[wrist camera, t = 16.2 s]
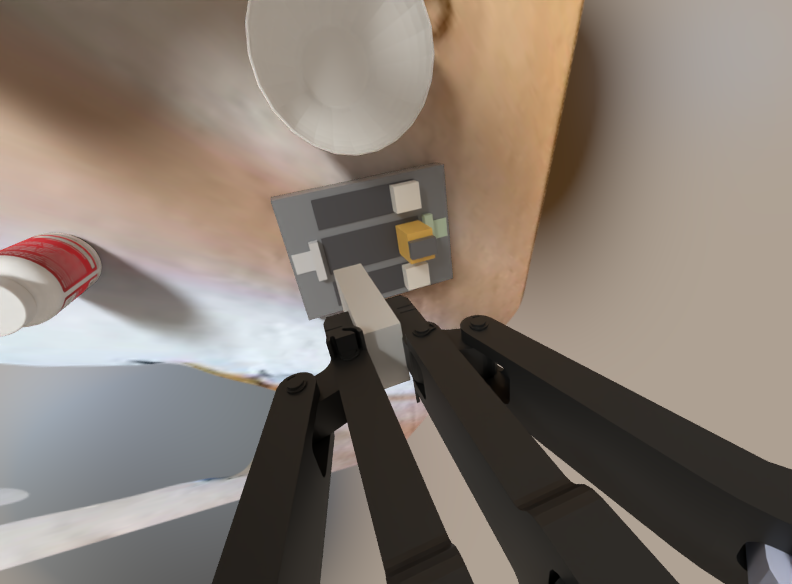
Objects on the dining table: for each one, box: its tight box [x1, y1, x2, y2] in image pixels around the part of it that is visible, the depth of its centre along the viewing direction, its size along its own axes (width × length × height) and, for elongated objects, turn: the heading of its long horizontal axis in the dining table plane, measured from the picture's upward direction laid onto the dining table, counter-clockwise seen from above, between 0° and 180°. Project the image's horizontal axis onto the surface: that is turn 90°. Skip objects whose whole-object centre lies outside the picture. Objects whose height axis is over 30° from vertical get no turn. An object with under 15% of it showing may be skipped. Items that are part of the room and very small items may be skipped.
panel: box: [271, 163, 453, 320], centre depth 41 cm, size 20×15×4 cm
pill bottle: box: [0, 233, 102, 337], centre depth 29 cm, size 6×6×11 cm
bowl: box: [245, 0, 434, 156], centre depth 31 cm, size 16×16×7 cm
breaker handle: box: [395, 220, 438, 264], centre depth 39 cm, size 3×4×5 cm
